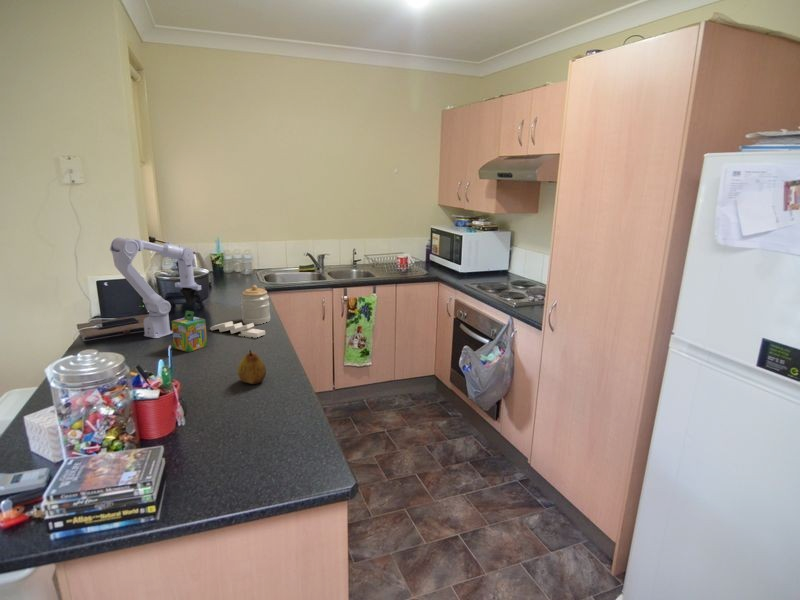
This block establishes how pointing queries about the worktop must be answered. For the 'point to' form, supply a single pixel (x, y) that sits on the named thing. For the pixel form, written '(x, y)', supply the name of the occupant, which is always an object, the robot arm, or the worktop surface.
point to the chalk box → (189, 333)
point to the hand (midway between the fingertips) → (190, 304)
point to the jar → (255, 306)
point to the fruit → (251, 369)
